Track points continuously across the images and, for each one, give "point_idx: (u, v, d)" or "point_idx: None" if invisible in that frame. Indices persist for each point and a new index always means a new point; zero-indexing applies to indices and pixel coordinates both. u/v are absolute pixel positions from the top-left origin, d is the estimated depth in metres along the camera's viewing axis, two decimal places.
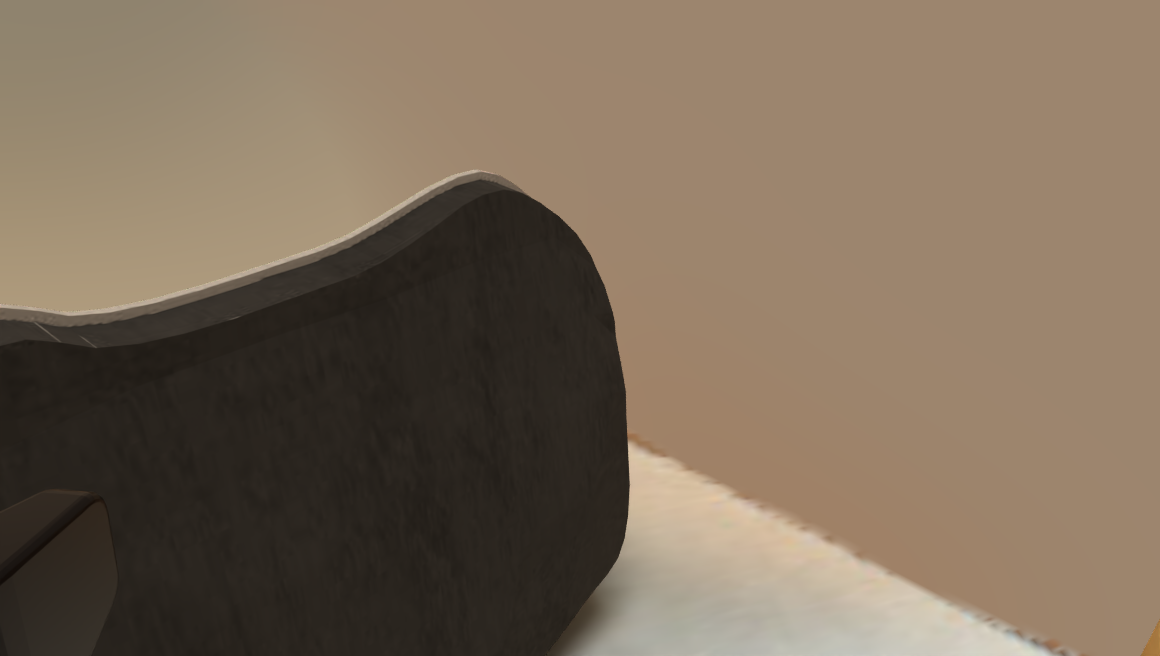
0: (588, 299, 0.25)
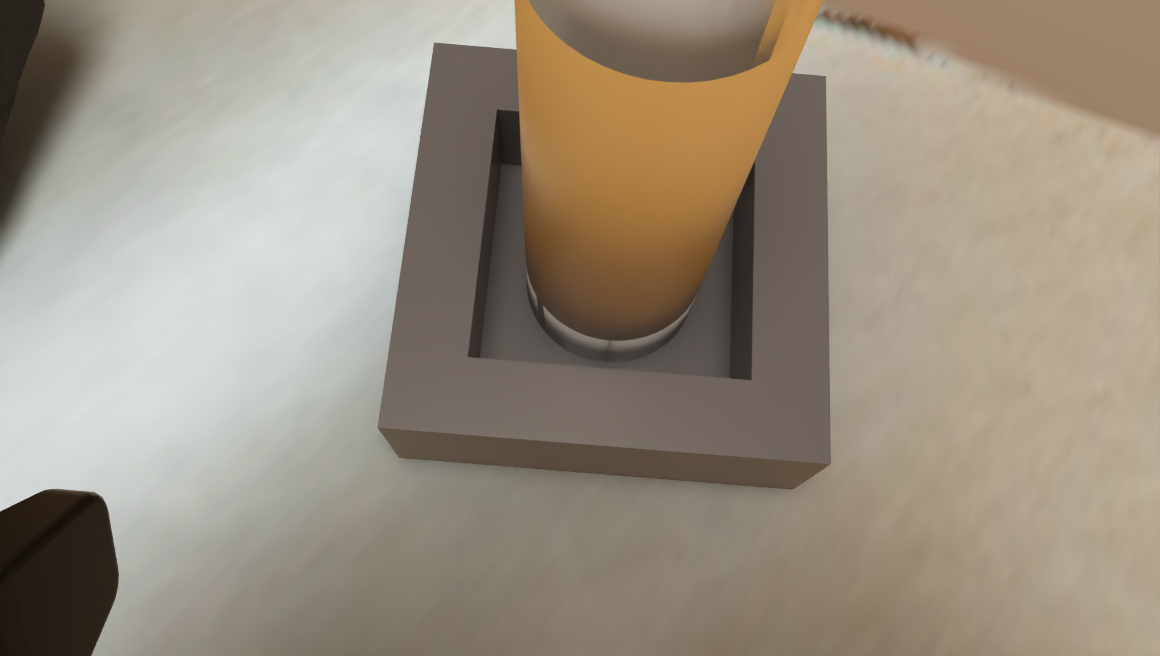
0: None
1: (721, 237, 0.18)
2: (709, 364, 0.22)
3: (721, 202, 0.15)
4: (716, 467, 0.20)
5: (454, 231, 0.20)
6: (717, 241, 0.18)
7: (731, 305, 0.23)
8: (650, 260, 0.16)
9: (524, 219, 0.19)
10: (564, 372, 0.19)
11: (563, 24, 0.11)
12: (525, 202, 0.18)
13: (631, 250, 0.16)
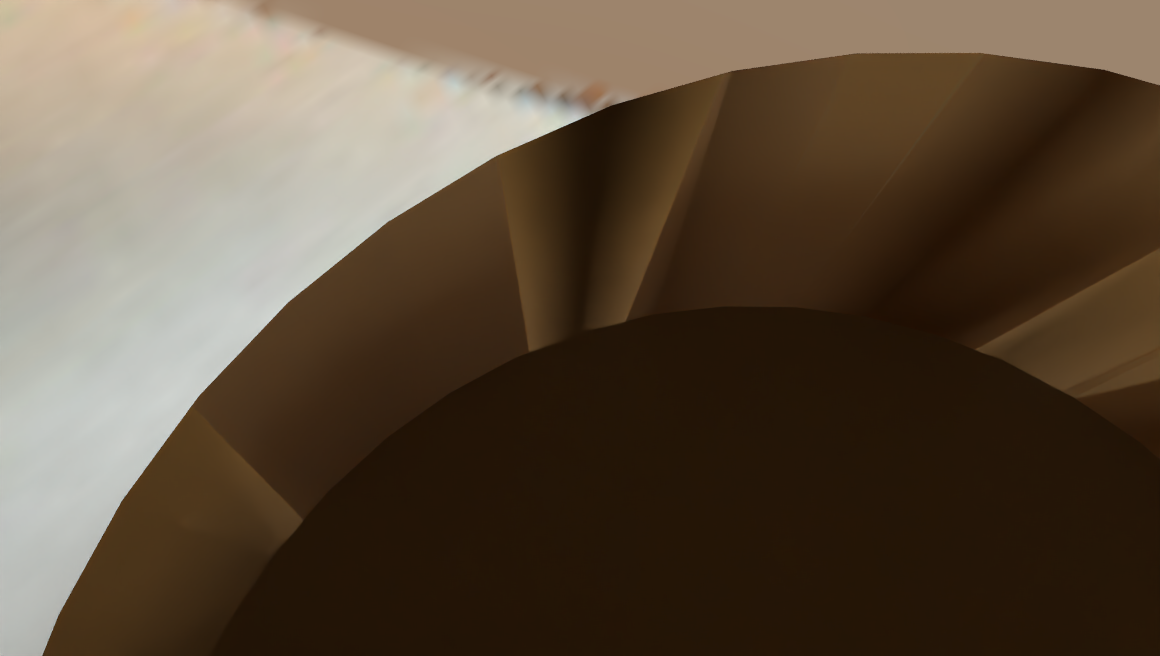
0: None
1: None
2: None
3: None
4: None
5: None
6: None
7: None
8: None
9: None
10: None
11: None
12: None
13: None
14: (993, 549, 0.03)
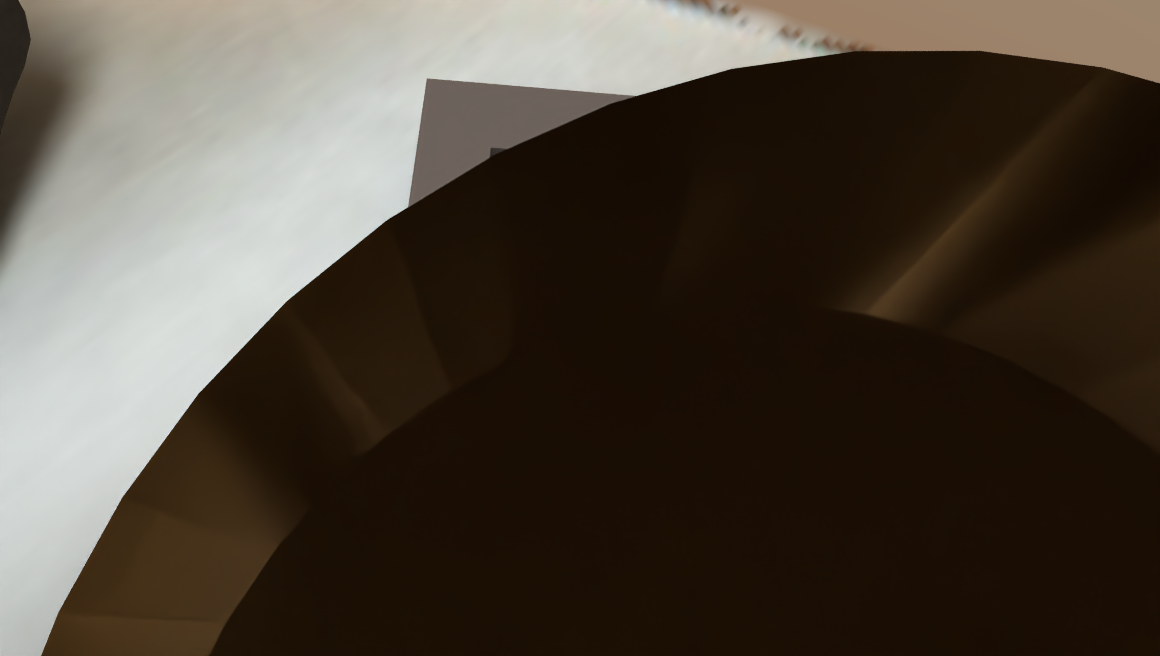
0: None
1: None
2: None
3: None
4: None
5: None
6: None
7: None
8: None
9: None
10: None
11: None
12: None
13: None
14: (995, 544, 0.03)
